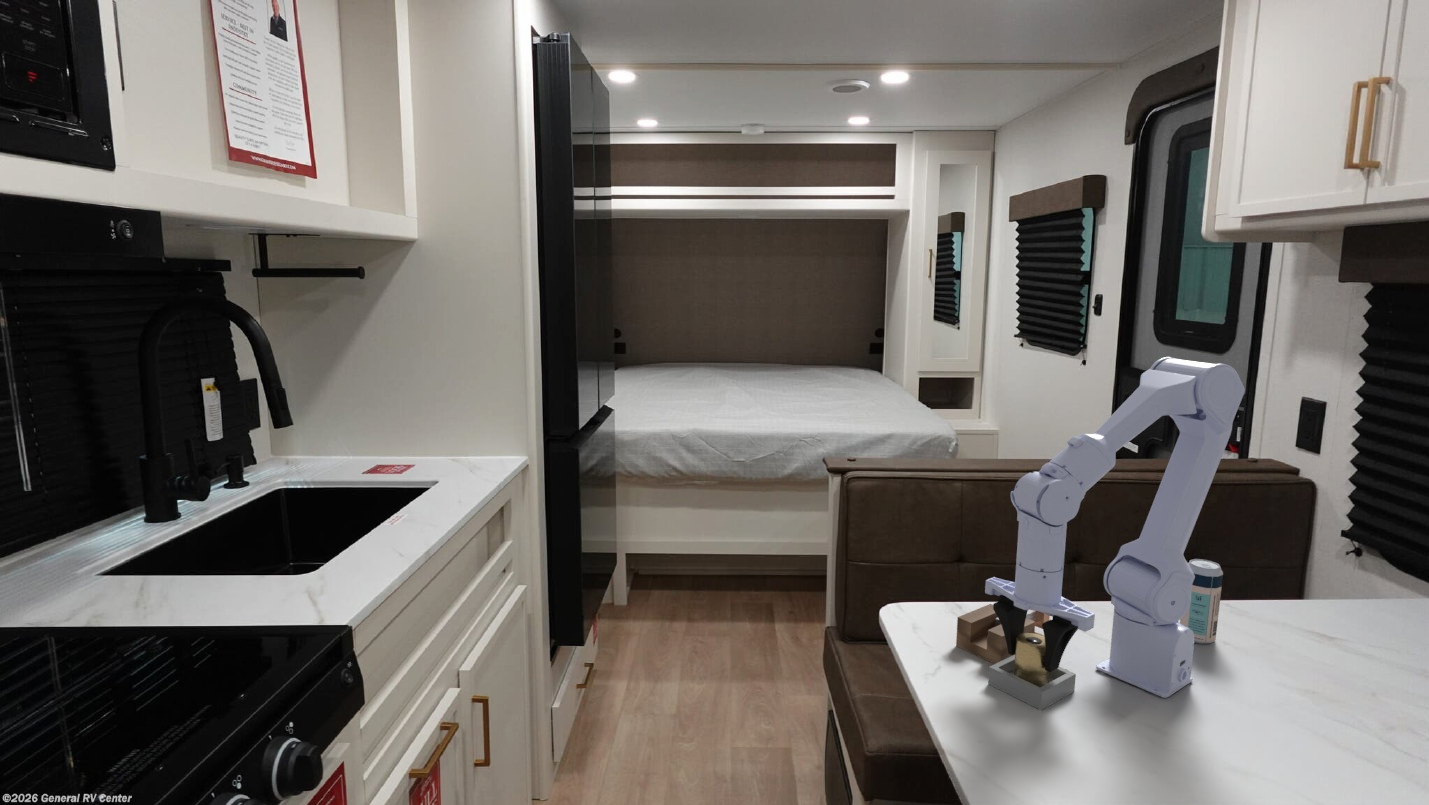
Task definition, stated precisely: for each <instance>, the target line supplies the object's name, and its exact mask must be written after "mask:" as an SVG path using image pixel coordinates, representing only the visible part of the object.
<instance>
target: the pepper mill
mask: <svg viewBox="0 0 1429 805" xmlns="http://www.w3.org/2000/svg"><path fill="white" fill-rule="evenodd" d="M1045 648H1046V647H1045V637H1044V635H1042V634H1038V633H1035V632H1034V633H1022V634H1019V635H1017V637H1016V650H1015V664H1014V675H1015V676H1017V677H1019V678H1021V679H1023V680H1025V681H1027V682H1030V683H1032V684H1034V685H1036V686H1038V687H1042V686H1044V685H1046V684H1048V683H1049V675H1050V672H1048V671H1046V670H1045V664H1044V663H1045Z"/></svg>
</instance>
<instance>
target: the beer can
mask: <svg viewBox="0 0 1429 805" xmlns="http://www.w3.org/2000/svg"><path fill="white" fill-rule="evenodd" d="M1187 563H1188V565H1189V566H1190V568H1191V570H1192V571H1193V573H1194V575H1195V578H1194V581H1193V584H1192V587H1191V603H1190V606H1189V609H1188V611H1187V612H1186V614H1185V615H1184V616H1183V617H1182V618H1181V619H1180V620H1179V623H1180V624H1182V625H1183V626H1185V627H1187V628H1189V629H1191V630H1192V631H1193V633H1194V644H1204V645H1206V644H1211V643H1213V642H1215V641H1216V639H1217V630H1218V621H1219V613H1220V604H1221V595H1222V586H1223V577H1224V576H1223V575H1224V571H1223V570H1222V568H1221V565H1220V564H1219V563H1217V562H1215V561H1212V560H1208V559H1203V558H1202V559H1200V558H1194V559H1190V560H1189V562H1187Z"/></svg>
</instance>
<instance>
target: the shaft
mask: <svg viewBox="0 0 1429 805" xmlns="http://www.w3.org/2000/svg"><path fill="white" fill-rule="evenodd" d="M1026 618H1027V619H1030V620H1032V621H1035V628H1039V629H1041V630H1043V628H1042V624H1043V623H1044V622H1047V621H1049V620H1050V618H1051V616H1049V615H1047V614H1044V613H1042V612H1039V611H1036V610H1032V609H1029V610H1028V612H1027V615H1026ZM998 625H1001V623H1000V621H999V618H995V627H996V626H998Z"/></svg>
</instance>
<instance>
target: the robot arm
mask: <svg viewBox="0 0 1429 805" xmlns="http://www.w3.org/2000/svg"><path fill="white" fill-rule="evenodd" d="M1139 379H1140V380H1139V386H1138V387H1137V388H1136V389H1135V390H1134V391H1133V393H1131V395H1129V397H1127V398H1126V400H1125V401H1124V402H1122V404H1121V405H1120V406H1119V407H1118V408H1117V409H1116V410H1115V411H1114V413H1112V414H1111V415H1110V417H1109V418H1108V419H1106V421H1105V422H1104V423H1103V424H1102V425H1101V426H1100V427H1099V428H1098V429H1096V431H1095V432H1094V433H1080V434H1078V435H1077V436H1072V437H1071V438H1069V440H1067V441H1066V442H1067V445H1066V446H1064V448H1063V449H1062V450H1060V452H1058V453H1057V454H1056V455H1055V456H1054V457H1053V458H1051V459H1050V460H1049V461H1048V462H1045V463H1044V464H1043V465H1042V466H1041V469H1040V470H1038V471H1032V472H1028V473H1025V475H1023V476H1022V477H1020V478H1019V479H1018V481H1017V482H1016V484H1015V486H1014V489H1013V490H1012V491H1010V495H1009V496H1010V501H1011V503H1012V506H1013V507H1014V508H1015V510H1016V512H1017V514H1016V515H1017V517H1016V521H1017V522H1018V528H1017V529H1018V530H1017V544H1016V545H1017V547H1016V548H1017V549H1016V559H1015V561H1016V564H1015V577H1014V578H1015V579H1014V581H1011V580H1005V579H1002V578H998V577H995V576H993V577H990V578H988V579H986V580H985V586H984V588H985V589H984V593H985V594H986V595H990V596H993V595H995V596H998V600H997V601H996V602H994V603H993V604H992V605H993V610H994V611H995V613H996V615H997V616H998V618H999V621H1000V623H1001V625H1002V628H1003V631H1004V635H1005V639H1006V643H1007V648H1008V653H1009V654H1010V655H1015V650H1016V637H1017V635H1019V634H1022V633H1024V625H1025V620H1026V615H1027V612H1028V610H1029V609H1032V610H1036V611H1039V612H1042V613H1044V614H1047V615H1049V616H1050V617H1052V619H1049V621H1047V622H1044V623H1043V624H1042V628H1043V629H1042V631H1043V634H1044V635H1043V636H1044V637H1045V647H1046V648H1045V663H1044V664H1045V670H1046V671H1048V672H1052V671H1054V670H1056V669H1058V667H1060V663H1061V661H1062V657H1063V655H1064V652H1065V651H1066V648H1067V646H1068V644H1069V643H1070V641H1071V639H1073V636H1074V635H1075V633H1076V632H1077V631H1078V630H1080V631H1082V632H1084V633H1086V632H1088V631H1089V630H1092V629H1094V628H1095V627H1094V626H1095V616H1096V615H1095V613H1094V612H1091V611H1088V610H1086V609H1085V608H1082V606H1079V605H1077V604H1076V603H1074V602H1072V601H1071V600H1069V599H1068V598H1065V597H1064V596H1062V591H1063V590H1062V589H1063V580H1064V579H1063V578H1064V565H1065V552H1066V540H1067V539H1066V538H1067V528H1068V526H1067V525H1068V522H1070V521H1071V520H1073V519H1074V518H1075V517H1076V516H1077V514H1078V512H1079V511H1080V510H1079V509H1080V506H1081V503H1082V501H1083V499H1085V495H1086V493H1087V491H1089V490H1090V489H1091V488H1092V487H1094V485H1095V484H1097V482H1099V481H1100V480H1101V479H1102V478H1103V477H1104V476H1105V475H1106V474H1108V473H1109V472H1110V471H1111V470H1112V469H1113V468H1114V467H1115V466H1116V459H1117V458H1116V457H1117V456H1116V455H1117V454H1116V453H1117V452H1118V451H1119V450H1120V449H1121V448H1123V447H1124V446H1125V445H1126V444H1128V443H1129V442H1130V441H1132V440H1133V439H1135V438H1136V437H1137V436H1138V435H1139V434H1141V433H1142V432H1143V431H1145V430H1146V429H1147V428H1148V427H1150V426H1151V425H1153V424H1154V423H1155V422H1156V421H1157V420H1159V419H1160V418H1161V417H1163V416H1169V417H1170V418H1171V419H1172V420H1173V421H1174V423H1175V425H1176V427H1177V429H1178V430H1179V435H1178V437H1177V440H1176V443H1175V446H1174V448H1173V451H1172V453H1171V456H1170V458H1169V461H1168V463H1167V466H1166V468H1165V471H1164V473H1163V476H1162V479H1161V481H1160V484H1159V485H1158V486H1159V487H1158V490H1157V492H1156V494H1155V497H1154V499H1153V502H1152V505H1151V507H1150V510H1149V512H1148V515H1147V516H1146V520H1145V522H1144V525H1143V527H1142V530H1141V533H1140V536H1139V538H1137V539H1135V540H1132V541H1130V542H1128V543H1125V544H1122V545H1121V546H1120V548H1119V549H1118V552H1117V555H1116V556H1115V558H1114V559H1113V560H1112V561H1111V562H1110V563H1109V564H1108V566H1107V568H1106V569H1105V572H1104V574H1103V586H1104V589H1105V592H1107V594H1109V595H1110V596H1111V598H1110V599H1111V600H1110V601H1111V602H1110V604H1111V605H1112V606H1114V608H1113V616H1112V617H1113V618H1112V629H1111V630H1112V631H1111V639H1110V641H1111V642H1110V652H1109V658H1108V659H1106V660H1103V661H1102V662H1100V663H1098V664H1097V665H1096V666H1095V669H1096V670H1097V671H1100V672H1102V673H1105V674H1106V675H1109V676H1112V677H1114V678H1115V679H1119V680H1121V681H1123V682H1126V683H1127V684H1130V685H1133V686H1135V687H1137V688H1140V689H1141V690H1144V691H1147V692H1149V693H1151V694H1154V695H1155V696H1158V697H1161V698H1165V699H1167V698H1169V697H1170V696H1172V695H1173V694H1174V693H1176V692H1177V691H1179V690H1181V689H1183V688H1184V687H1185V686H1186V685H1188V684H1190V683H1191V682H1193V677H1192V668H1193V658H1194V651H1195V650H1194V648H1195V642H1194V633H1193V631H1192V630H1191V629H1189V628H1187V627H1185V626H1183V625H1182V624H1180V619H1181V618H1182V617H1183V616H1184V615H1185V614H1186V612H1187V611H1188V609H1189V606H1190V603H1191V587H1192V584H1193V581H1194V578H1195V575H1194V573H1193V571H1192V570H1191V568H1190V566H1189V565H1188V563H1189V562H1188V560H1186V558H1185V556H1184V553H1185V550H1186V548H1187V546H1188V543H1189V540H1190V537H1191V536H1192V533H1193V531H1194V529H1195V525H1196V522H1197V520H1198V518H1199V516H1200V512H1201V510H1202V507H1203V505H1204V502H1205V500H1206V498H1207V495H1208V492H1209V490H1210V488H1211V485H1212V483H1213V480H1214V477H1215V474H1216V472H1217V470H1218V467H1219V466H1220V462H1221V460H1222V457H1223V455H1224V453H1225V450H1226V447H1227V446H1228V442H1229V441H1230V440H1229V439H1230V437H1231V435H1232V432H1233V422H1234V420H1235V417H1236V414H1237V412H1238V411H1239V410H1238V409H1239V407H1240V404H1241V402H1242V400H1243V397H1244V395H1245V392H1246V388H1245V387H1244V383H1243V381H1242V380H1241V377H1240V376H1239V374H1238V372H1237V371H1236V369H1235V368H1234V367H1233V366H1231V365H1229V364H1226V363H1210V362H1202V361H1195V360H1187V359H1180V358H1176V357H1172V356H1166V357H1162V358H1159V359H1157V360H1156V361H1155V362H1154V363H1152V365H1151V366H1150V368H1149V369H1147V370H1146V371H1144V372H1143V373H1141V375H1140V378H1139Z"/></svg>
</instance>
